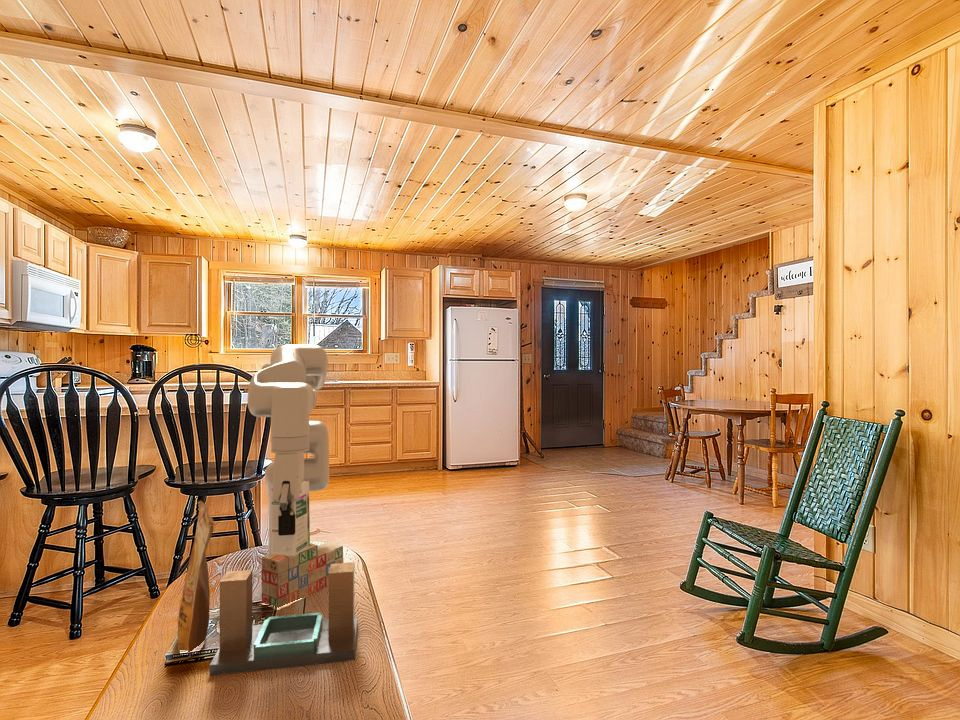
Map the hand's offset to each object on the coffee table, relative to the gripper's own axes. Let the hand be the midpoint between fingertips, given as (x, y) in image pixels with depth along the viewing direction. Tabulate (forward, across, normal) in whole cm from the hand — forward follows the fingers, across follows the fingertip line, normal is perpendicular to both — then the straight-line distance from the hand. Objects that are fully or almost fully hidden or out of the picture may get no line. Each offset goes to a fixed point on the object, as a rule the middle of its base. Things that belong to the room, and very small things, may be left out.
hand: (290, 527), depth 107 cm
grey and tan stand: (+25, 0, 0) cm, 25 cm away
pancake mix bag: (+25, -8, -21) cm, 34 cm away
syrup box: (+5, 0, 0) cm, 5 cm away
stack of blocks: (+26, -27, -1) cm, 37 cm away
